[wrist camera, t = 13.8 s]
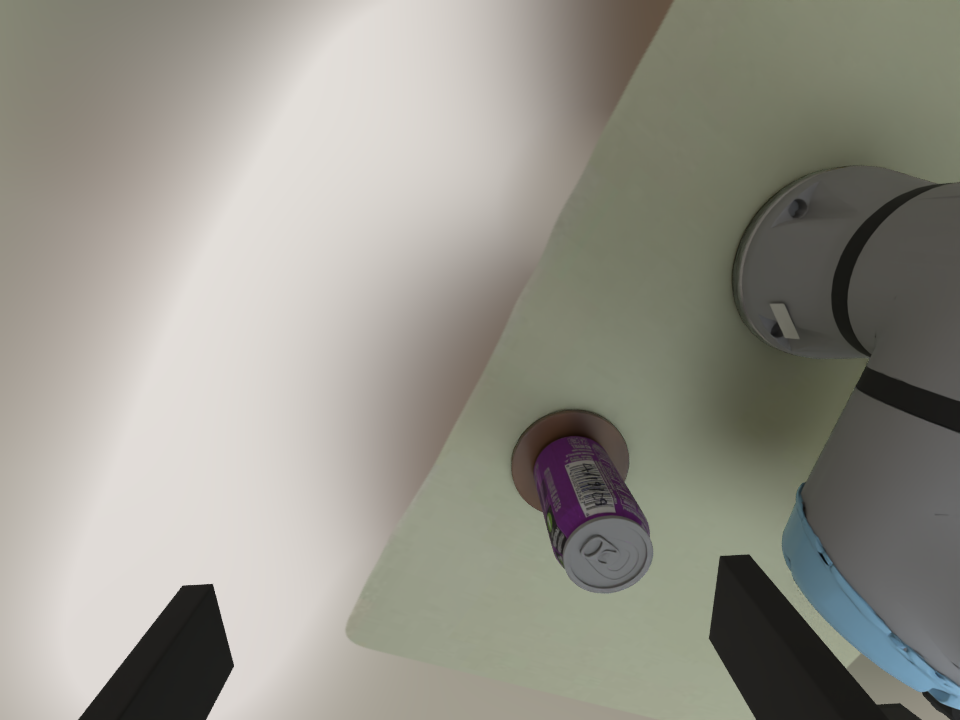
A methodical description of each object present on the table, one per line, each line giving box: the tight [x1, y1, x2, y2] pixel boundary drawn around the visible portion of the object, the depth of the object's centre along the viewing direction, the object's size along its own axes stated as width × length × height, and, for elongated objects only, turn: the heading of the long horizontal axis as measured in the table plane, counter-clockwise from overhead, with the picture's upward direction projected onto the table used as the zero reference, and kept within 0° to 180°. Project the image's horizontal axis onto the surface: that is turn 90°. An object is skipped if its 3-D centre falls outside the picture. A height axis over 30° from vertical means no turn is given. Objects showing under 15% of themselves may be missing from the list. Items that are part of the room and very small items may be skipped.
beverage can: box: [534, 436, 653, 593], centre depth 37 cm, size 7×7×12 cm
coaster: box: [511, 410, 629, 512], centre depth 43 cm, size 11×11×1 cm
